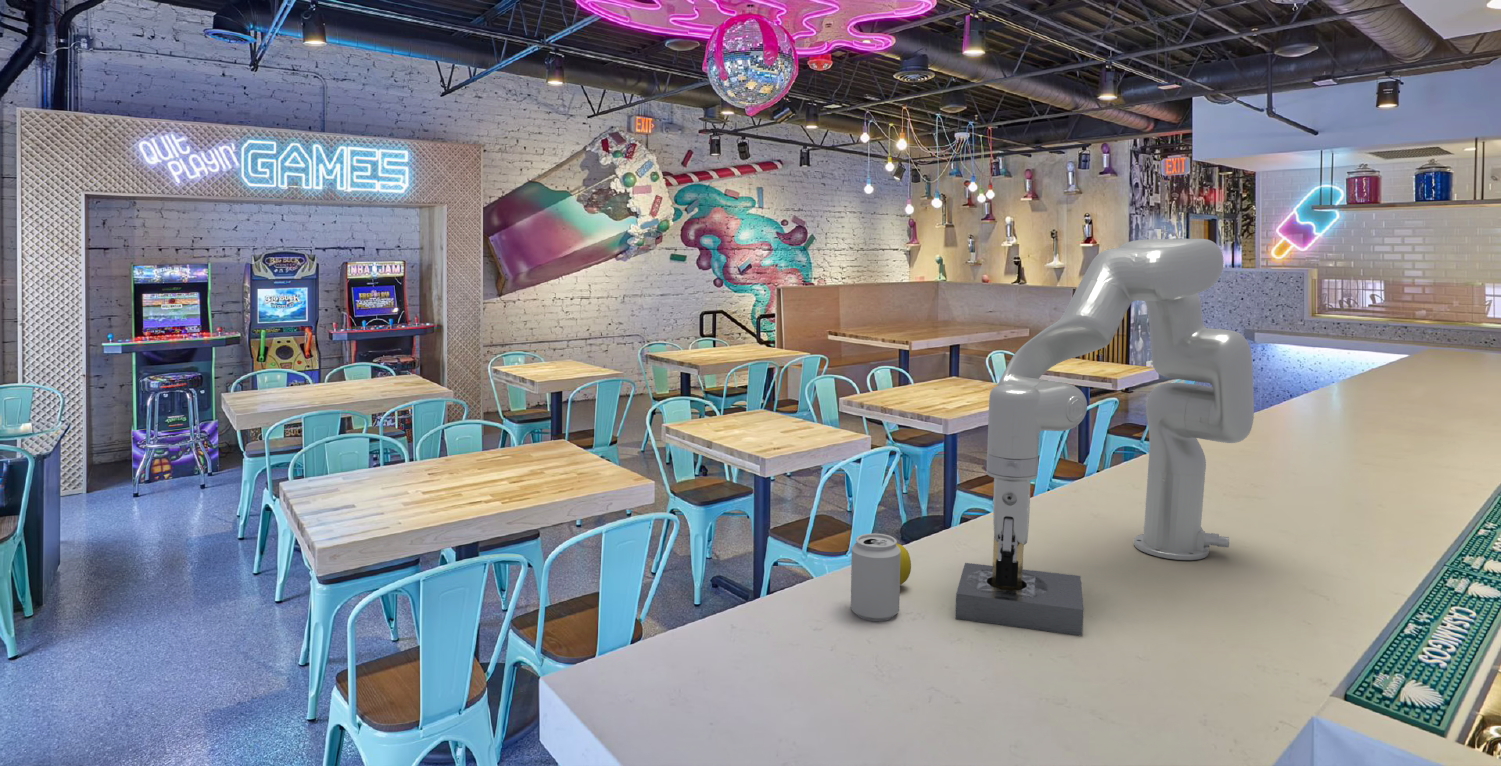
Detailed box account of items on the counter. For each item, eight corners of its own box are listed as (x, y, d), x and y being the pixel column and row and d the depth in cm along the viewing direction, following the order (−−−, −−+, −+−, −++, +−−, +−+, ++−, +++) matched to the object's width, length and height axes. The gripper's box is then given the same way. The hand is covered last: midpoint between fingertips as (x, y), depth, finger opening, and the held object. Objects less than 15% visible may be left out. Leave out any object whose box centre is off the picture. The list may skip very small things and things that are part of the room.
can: (864, 599, 136) (865, 527, 134) (907, 610, 131) (909, 536, 130) (841, 615, 129) (842, 540, 128) (886, 627, 125) (888, 550, 124)
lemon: (873, 582, 143) (874, 536, 142) (905, 581, 143) (906, 536, 142) (881, 595, 137) (882, 548, 136) (914, 594, 138) (915, 547, 137)
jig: (1079, 599, 135) (1080, 575, 135) (1082, 635, 122) (1083, 609, 122) (964, 585, 141) (965, 562, 141) (955, 618, 128) (956, 593, 128)
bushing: (1022, 583, 133) (1024, 533, 132) (1021, 593, 129) (1023, 542, 128) (992, 579, 135) (994, 530, 134) (990, 589, 131) (992, 539, 130)
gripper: (1037, 481, 120) (1031, 603, 123) (1038, 455, 136) (1033, 563, 139) (982, 476, 123) (978, 596, 125) (990, 452, 138) (986, 558, 141)
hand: (1007, 578), depth 132 cm, fingers closed on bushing, 4 cm apart
